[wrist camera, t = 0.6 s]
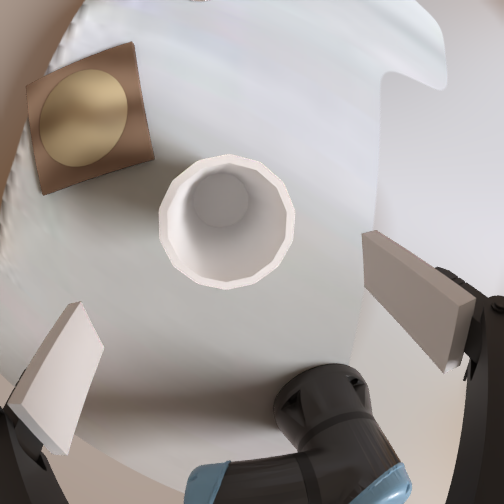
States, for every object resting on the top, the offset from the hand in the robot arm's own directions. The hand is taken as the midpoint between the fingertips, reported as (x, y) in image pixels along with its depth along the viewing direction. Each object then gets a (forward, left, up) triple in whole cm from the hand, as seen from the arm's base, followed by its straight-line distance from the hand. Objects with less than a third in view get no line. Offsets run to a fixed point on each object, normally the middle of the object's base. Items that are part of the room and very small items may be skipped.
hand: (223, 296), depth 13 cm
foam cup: (+1, -1, -22) cm, 22 cm away
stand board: (+14, +12, -21) cm, 28 cm away
